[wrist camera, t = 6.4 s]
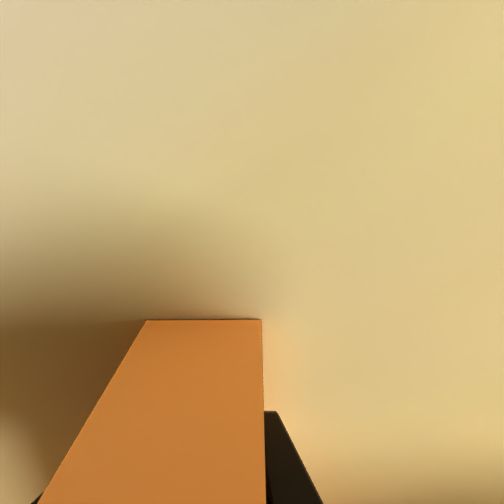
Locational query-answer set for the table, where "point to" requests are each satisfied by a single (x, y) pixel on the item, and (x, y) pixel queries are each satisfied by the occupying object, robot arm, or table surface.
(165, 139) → the table surface
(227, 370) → the orange rectangular bar
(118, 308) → the table surface
